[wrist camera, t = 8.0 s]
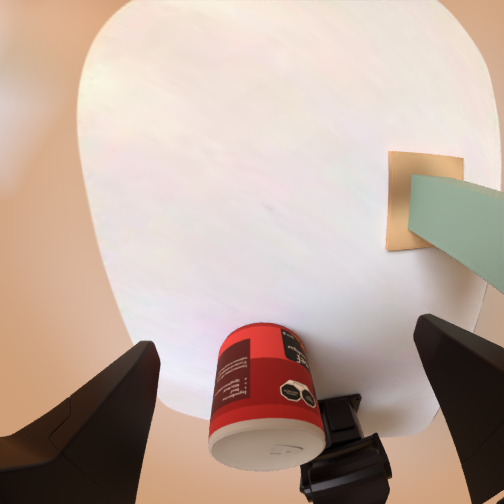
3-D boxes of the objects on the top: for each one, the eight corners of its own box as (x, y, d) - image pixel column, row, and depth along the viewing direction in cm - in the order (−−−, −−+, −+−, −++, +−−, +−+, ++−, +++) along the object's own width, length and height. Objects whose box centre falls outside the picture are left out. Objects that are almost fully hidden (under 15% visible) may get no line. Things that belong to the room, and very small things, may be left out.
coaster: (453, 241, 21) (456, 244, 21) (385, 248, 21) (388, 250, 21) (459, 157, 18) (463, 158, 18) (388, 150, 18) (391, 151, 18)
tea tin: (446, 228, 20) (554, 297, 8) (406, 230, 20) (522, 313, 8) (451, 176, 18) (574, 218, 6) (410, 172, 18) (547, 216, 6)
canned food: (303, 374, 26) (321, 466, 16) (225, 380, 26) (218, 473, 16) (304, 315, 23) (333, 417, 13) (212, 322, 24) (195, 428, 13)
